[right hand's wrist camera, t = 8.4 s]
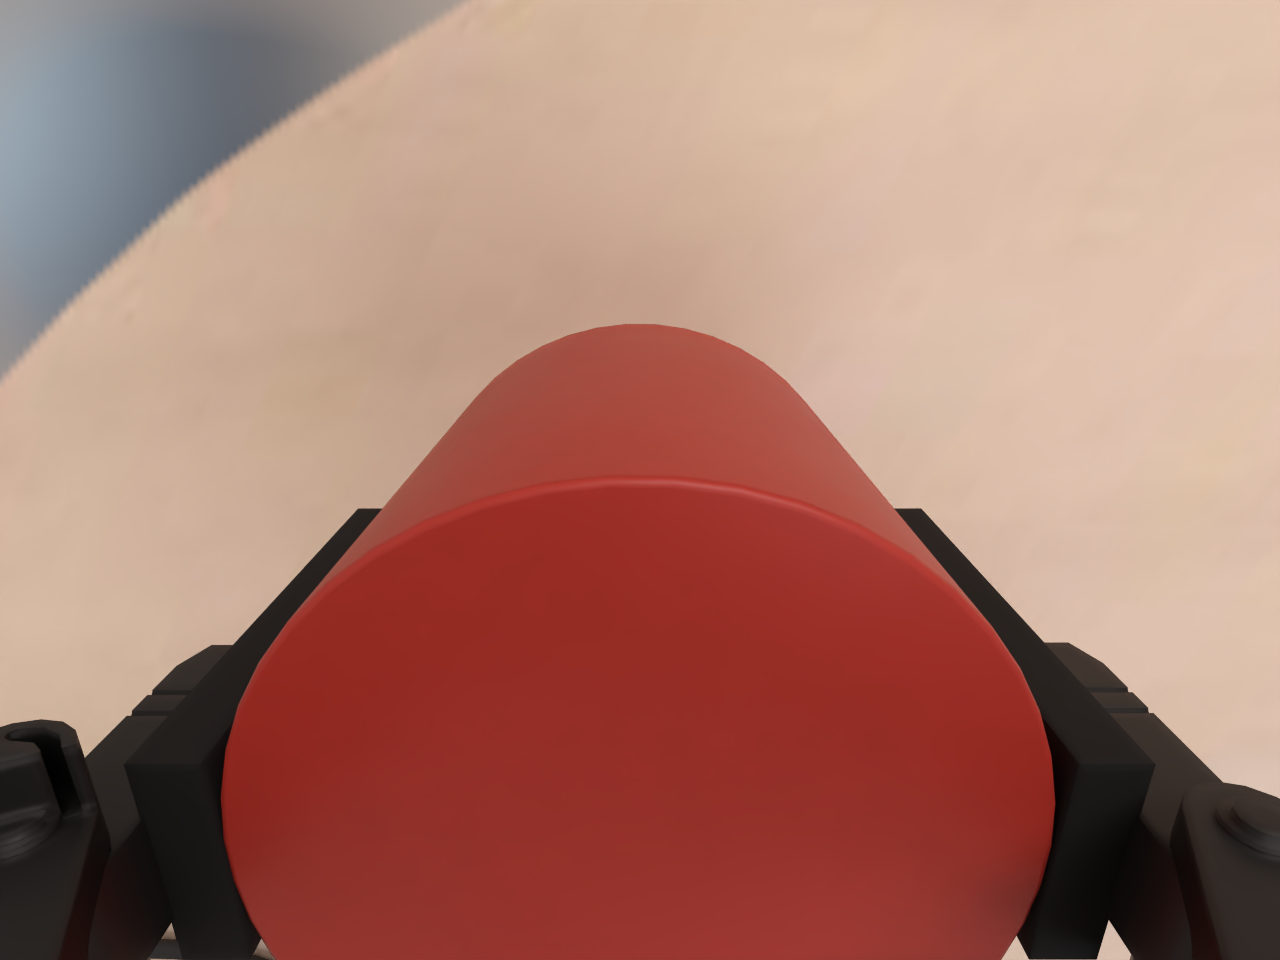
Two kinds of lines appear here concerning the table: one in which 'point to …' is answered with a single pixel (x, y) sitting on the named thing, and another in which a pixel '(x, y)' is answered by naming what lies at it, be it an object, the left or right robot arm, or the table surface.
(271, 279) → the table surface
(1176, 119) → the table surface
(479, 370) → the table surface
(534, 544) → the canister
